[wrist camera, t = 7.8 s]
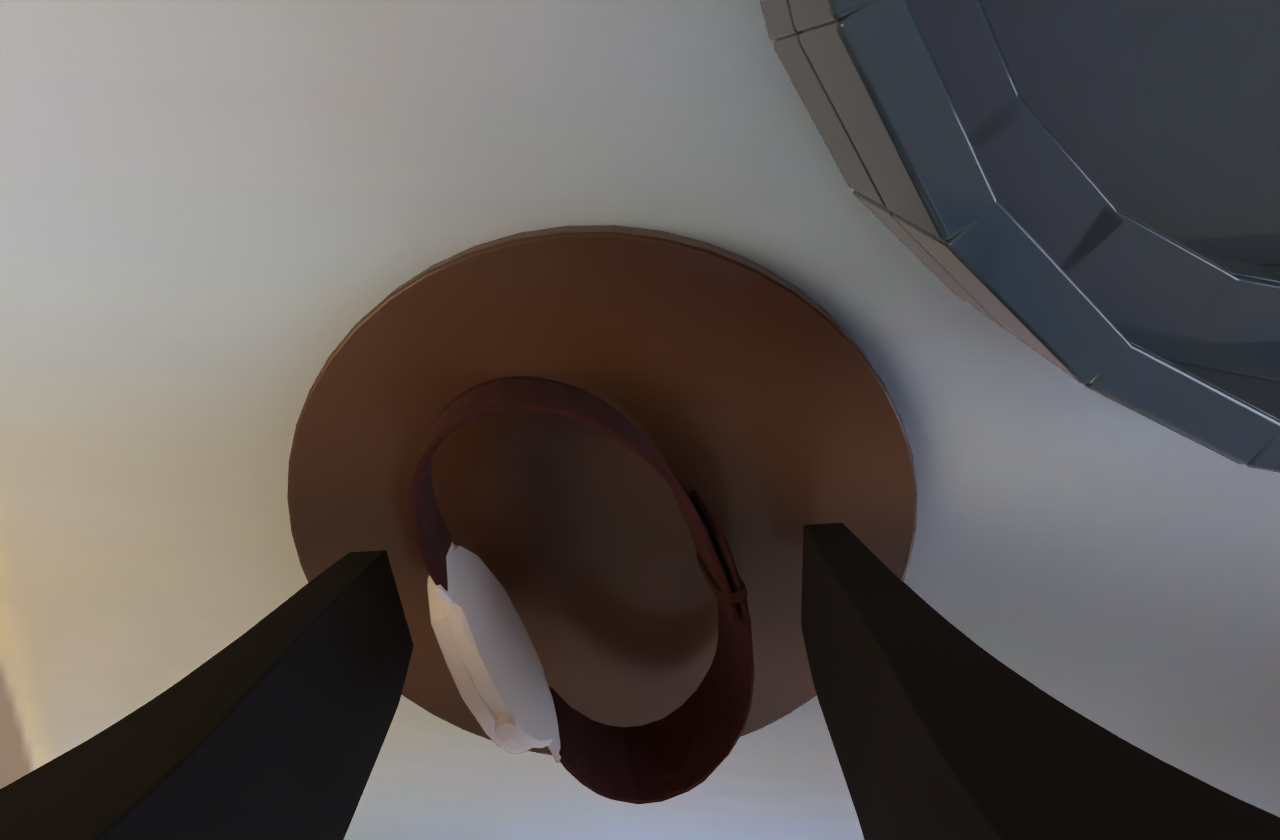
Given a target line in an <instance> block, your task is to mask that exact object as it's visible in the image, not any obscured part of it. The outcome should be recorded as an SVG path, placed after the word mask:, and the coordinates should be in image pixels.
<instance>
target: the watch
mask: <svg viewBox="0 0 1280 840" xmlns="http://www.w3.org/2000/svg"><path fill="white" fill-rule="evenodd" d="M514 412H537V413H543V414H549V415H555V416H561V417H565V418H567V419H570V420H573V421H576V422H579V423H582V424H585V425H588V426H591V427H594V428H596V429H598V430H600V431H602V432H603V433H605V434H607V435H609V436H611V437H613V438H615V439H617V440H618V441H620V442H621V443H623V444H624V445H625V446H627V447H628V448H630V449H631V450H632V451H634V452H635V453H637V454H638V455H639V456H641V457H642V458H644V459H645V460H646V461H647V462H648V463H649V464H650V465H651V467H652V468H653V469H654V470H655V471H656V472H657V473H658V474H659V475H660V476H661V478H662V479H663V480H664V481H665V482H666V483H667V484H668V486H669V487H670V489H671V491H672V493H673V495H674V497H675V499H676V501H677V504H678V506H679V508H680V510H681V512H682V514H683V517H684V519H685V521H686V523H687V525H688V527H689V529H690V532H691V535H692V538H693V541H694V544H695V547H696V550H697V561H698V566H699V568H700V569H701V571H702V573H703V574H704V576H705V579H706V581H707V583H708V585H709V586H710V588H711V590H712V591H713V593H714V595H715V597H716V598H717V604H718V642H717V648H716V653H715V656H714V658H713V661H712V664H711V667H710V668H709V670H708V672H707V673H706V675H705V677H704V678H703V680H702V682H701V684H700V685H699V687H698V689H697V690H696V691H695V692H694V693H693V694H692V695H691V696H690V697H689V698H688V699H687V700H686V701H685V702H684V703H683V705H682V706H680V707H679V708H677V709H676V710H675V711H673V712H672V713H670V714H669V715H667V716H666V717H664V718H663V719H660V720H657V721H654V722H651V723H648V724H645V725H642V726H632V727H618V726H611V725H606V724H603V723H600V722H597V721H593V720H591V719H590V718H588V717H586V716H585V715H583V714H582V713H580V712H578V711H577V710H575V709H573V708H572V707H570V706H569V705H568V704H567V703H566V702H565V701H564V700H563V699H562V698H561V697H560V695H559V694H558V693H557V692H556V691H555V690H554V689H553V688H552V687H551V686H549V685H548V683H547V681H546V677H545V673H544V670H543V666H542V664H541V662H540V659H539V657H538V655H537V653H536V650H535V648H534V646H533V644H532V641H531V639H530V637H529V635H528V632H527V630H526V628H525V626H524V624H523V622H522V621H521V619H520V617H519V615H518V613H517V611H516V609H515V608H514V606H513V604H512V602H511V600H510V598H509V597H508V595H507V593H506V591H505V589H504V587H503V586H502V585H501V584H500V582H499V581H498V580H497V579H496V577H495V576H494V575H493V574H492V572H491V571H490V570H489V569H488V568H487V566H486V565H485V564H484V563H483V561H482V560H481V559H480V558H479V557H478V556H477V555H476V554H474V553H472V552H470V551H469V550H467V549H465V548H463V547H462V546H457V545H454V544H453V542H452V538H451V536H450V534H449V531H448V529H447V527H446V525H445V523H444V521H443V519H442V516H441V514H440V511H439V508H438V505H437V502H436V498H435V494H434V489H433V483H432V477H431V468H432V459H433V454H434V452H435V451H436V450H437V449H438V448H439V447H440V445H441V444H442V443H443V442H444V441H445V440H446V438H447V437H448V436H449V435H450V434H452V433H454V432H455V431H457V430H459V429H460V428H462V427H464V426H465V425H467V424H469V423H470V422H472V421H474V420H476V419H480V418H484V417H488V416H491V415H495V414H499V413H514ZM690 496H691V500H690V499H689V497H688V496H687V494H686V493H685V491H684V490H683V488H682V487H681V485H680V484H679V482H678V481H677V479H676V478H675V476H674V475H673V473H672V472H671V470H670V469H669V467H668V466H667V464H666V463H665V461H664V459H663V458H662V456H661V455H660V454H659V452H658V451H657V450H656V449H655V447H654V446H653V445H652V443H651V442H650V441H649V440H648V438H647V437H646V436H645V434H644V433H643V432H642V431H640V430H639V429H638V428H637V427H636V426H635V425H634V424H633V423H632V422H631V421H630V420H628V419H627V418H626V417H625V416H624V415H623V414H622V413H620V412H619V411H617V410H616V409H615V408H613V407H612V406H611V405H609V404H608V403H606V402H605V401H604V400H602V399H601V398H599V397H597V396H595V395H593V394H591V393H589V392H587V391H585V390H583V389H581V388H579V387H575V386H572V385H568V384H565V383H562V382H558V381H555V380H551V379H545V378H540V377H534V376H511V377H500V378H495V379H492V380H489V381H486V382H483V383H479V384H476V385H474V386H473V387H471V388H469V389H467V390H466V391H464V392H462V393H461V394H460V395H458V396H457V397H456V398H454V399H453V400H452V401H451V402H450V403H448V404H447V405H446V406H445V408H444V409H443V410H442V412H441V413H440V415H439V416H438V418H437V419H436V421H435V422H434V423H433V425H432V428H431V430H430V432H429V434H428V437H427V439H426V441H425V443H424V446H423V448H422V451H421V454H420V457H419V460H418V463H417V466H416V469H415V472H414V474H413V478H412V483H411V489H410V498H409V512H410V521H411V531H412V537H413V540H414V542H415V545H416V547H417V550H418V553H419V555H420V558H421V561H422V563H423V566H424V568H425V569H426V571H427V572H428V574H429V577H428V583H427V590H428V599H429V609H430V619H431V625H432V627H433V630H434V633H435V635H436V638H437V641H438V643H439V646H440V648H441V651H442V654H443V656H444V659H445V662H446V664H447V667H448V669H449V671H450V673H451V675H452V677H453V679H454V682H455V684H456V686H457V688H458V690H459V692H460V695H461V697H462V699H463V700H464V702H465V703H466V705H467V706H468V708H469V709H470V711H471V712H472V714H473V715H474V717H475V718H476V720H477V721H478V723H479V724H480V726H481V727H482V729H483V730H484V732H485V733H486V734H487V735H488V736H489V737H490V738H491V739H492V740H493V742H494V743H495V744H496V745H497V746H499V747H501V748H503V749H505V750H507V751H509V752H511V753H513V754H518V753H522V752H526V751H528V750H530V749H531V748H544V747H546V746H548V748H549V749H550V751H551V753H552V755H553V757H554V758H555V760H556V762H561V763H562V765H563V766H564V767H565V768H566V770H568V771H569V772H570V773H571V774H572V775H573V776H574V777H575V778H576V779H577V780H578V781H579V782H580V783H582V784H583V785H584V786H586V787H587V788H589V789H591V790H592V791H594V792H595V793H597V794H599V795H601V796H604V797H606V798H609V799H613V800H617V801H623V802H629V803H634V804H644V803H653V802H661V801H664V800H667V799H670V798H673V797H675V796H678V795H680V794H683V793H685V792H688V791H689V790H691V789H693V788H694V787H696V786H697V785H699V784H700V783H702V782H704V781H705V780H706V779H707V777H708V776H709V775H710V774H711V773H712V772H713V771H714V770H715V769H716V768H717V767H718V766H719V765H720V763H721V762H722V761H723V760H724V759H725V758H726V757H727V756H728V755H729V753H730V752H731V750H732V749H733V747H734V745H735V744H736V742H737V740H738V739H739V737H740V736H741V734H742V732H743V731H744V728H745V725H746V722H747V719H748V716H749V712H750V709H751V705H752V696H753V685H754V674H755V671H754V657H753V644H752V630H751V619H750V614H749V609H748V605H747V600H746V598H747V595H748V594H747V591H746V587H745V584H744V583H743V581H742V580H741V578H740V576H739V574H738V571H737V568H736V565H735V562H734V559H733V556H732V553H731V551H730V548H729V545H728V542H727V540H726V538H725V537H724V535H723V533H722V531H721V529H720V527H719V525H718V523H717V521H716V520H715V518H714V517H713V515H712V514H711V513H710V511H709V510H708V508H707V507H706V506H705V504H704V503H703V501H702V500H701V498H700V497H699V496H698V494H697V493H696V491H695V490H694V491H692V492H691V493H690Z"/></svg>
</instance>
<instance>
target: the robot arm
mask: <svg viewBox="0 0 1280 840" xmlns="http://www.w3.org/2000/svg"><path fill="white" fill-rule="evenodd" d="M801 627H802V632H803V637H804V642H805V647H806V652H807V657H808V662H809V666H810V671H811V675H812V680H813V684H814V687H815V690H816V693H817V697H818V700H819V703H820V706H821V709H822V712H823V715H824V718H825V721H826V724H827V727H828V730H829V733H830V736H831V739H832V742H833V745H834V748H835V750H836V753H837V756H838V759H839V762H840V765H841V768H842V771H843V774H844V777H845V780H846V783H847V786H848V789H849V792H850V795H851V798H852V801H853V804H854V807H855V810H856V813H857V816H858V819H859V822H860V826H861V829H862V832H863V836H864V839H865V840H1280V817H1277V816H1275V815H1273V814H1271V813H1268V812H1266V811H1264V810H1262V809H1259V808H1257V807H1255V806H1253V805H1251V804H1248V803H1246V802H1244V801H1242V800H1239V799H1237V798H1235V797H1233V796H1231V795H1229V794H1227V793H1225V792H1223V791H1221V790H1219V789H1217V788H1215V787H1213V786H1211V785H1209V784H1207V783H1205V782H1203V781H1201V780H1199V779H1197V778H1195V777H1193V776H1191V775H1189V774H1187V773H1185V772H1183V771H1181V770H1179V769H1177V768H1175V767H1173V766H1171V765H1169V764H1167V763H1165V762H1163V761H1162V760H1160V759H1158V758H1156V757H1154V756H1152V755H1151V754H1149V753H1147V752H1145V751H1143V750H1141V749H1139V748H1138V747H1136V746H1134V745H1132V744H1130V743H1128V742H1127V741H1125V740H1123V739H1121V738H1119V737H1118V736H1116V735H1114V734H1113V733H1111V732H1109V731H1108V730H1106V729H1104V728H1103V727H1101V726H1099V725H1097V724H1096V723H1094V722H1092V721H1091V720H1089V719H1087V718H1086V717H1084V716H1082V715H1081V714H1079V713H1077V712H1075V711H1074V710H1072V709H1070V708H1069V707H1067V706H1066V705H1064V704H1062V703H1061V702H1059V701H1058V700H1056V699H1055V698H1053V697H1051V696H1050V695H1048V694H1047V693H1045V692H1044V691H1042V690H1041V689H1039V688H1038V687H1036V686H1035V685H1033V684H1032V683H1030V682H1029V681H1027V680H1026V679H1025V678H1023V677H1022V676H1020V675H1019V674H1017V673H1016V672H1014V671H1013V670H1011V669H1010V668H1008V667H1007V666H1006V665H1004V664H1003V663H1001V662H1000V661H998V660H997V659H996V658H994V657H993V656H992V655H990V654H989V653H988V652H986V651H985V650H983V649H982V648H981V647H980V646H978V645H977V644H976V643H974V642H973V641H972V640H971V639H969V638H968V637H967V636H966V635H964V634H963V633H962V632H961V631H959V630H958V629H957V628H956V627H954V626H953V625H952V624H951V623H949V622H948V621H947V620H946V619H945V618H943V617H942V616H941V615H940V614H939V613H938V612H936V611H935V610H934V609H933V608H932V607H931V606H930V605H928V604H927V603H926V602H925V601H924V600H923V599H922V598H921V597H920V596H918V595H917V594H916V593H915V592H914V591H913V590H912V589H911V588H910V587H908V586H907V585H906V584H905V583H904V582H903V581H902V580H901V579H900V578H899V577H898V576H897V575H896V574H894V573H893V572H892V571H891V570H890V569H889V568H888V567H887V566H886V565H885V564H884V563H883V562H882V561H881V560H880V559H879V558H878V557H877V556H876V555H875V554H874V553H873V552H872V551H871V550H870V549H869V548H868V547H867V546H866V545H865V544H864V543H863V542H862V541H861V540H860V539H859V538H858V537H857V536H856V535H855V534H854V533H853V532H852V531H851V530H850V529H849V528H848V527H846V526H845V525H844V524H843V523H826V524H810V525H803V561H802V604H801ZM413 646H414V645H413V641H412V638H411V634H410V631H409V627H408V624H407V621H406V617H405V614H404V610H403V607H402V603H401V600H400V596H399V593H398V590H397V586H396V583H395V579H394V576H393V572H392V569H391V565H390V562H389V559H388V555H387V552H386V550H378V551H362V552H349V553H348V554H347V555H345V556H344V557H342V558H341V559H339V560H338V561H336V562H335V563H334V564H332V565H331V566H330V567H328V568H327V569H326V570H324V571H323V572H322V573H321V574H319V575H318V576H317V577H315V578H314V579H313V580H312V581H310V582H309V583H308V584H307V585H305V586H304V587H303V588H302V589H300V590H299V591H298V592H297V593H295V594H294V595H293V596H292V597H290V598H289V599H288V600H287V601H285V602H284V603H283V604H281V605H280V606H279V607H278V608H276V609H275V610H274V611H273V612H271V613H270V614H269V615H267V616H266V617H265V618H264V619H262V620H261V621H260V622H259V623H257V624H256V625H255V626H253V627H252V628H251V629H250V630H248V631H247V632H246V633H245V634H243V635H242V636H241V637H239V638H238V639H237V640H235V641H234V642H232V643H231V644H230V645H228V646H227V647H226V648H224V649H223V650H222V651H220V652H219V653H217V654H216V655H215V656H213V657H212V658H211V659H209V660H208V661H207V662H205V663H204V664H202V665H201V666H200V667H198V668H197V669H196V670H194V671H193V672H191V673H190V674H189V675H187V676H186V677H185V678H183V679H182V680H181V681H179V682H178V683H176V684H175V685H173V686H172V687H170V688H169V689H167V690H166V691H165V692H163V693H162V694H160V695H159V696H157V697H156V698H154V699H153V700H151V701H150V702H148V703H147V704H145V705H144V706H142V707H140V708H139V709H137V710H136V711H134V712H132V713H131V714H129V715H128V716H126V717H125V718H123V719H121V720H120V721H118V722H117V723H115V724H113V725H112V726H110V727H109V728H107V729H106V730H104V731H102V732H101V733H99V734H97V735H96V736H94V737H92V738H91V739H89V740H87V741H86V742H84V743H82V744H80V745H78V746H77V747H75V748H73V749H71V750H70V751H68V752H66V753H64V754H63V755H61V756H59V757H57V758H55V759H54V760H52V761H50V762H48V763H47V764H45V765H43V766H41V767H39V768H38V769H36V770H34V771H32V772H31V773H29V774H27V775H25V776H23V777H22V778H20V779H18V780H16V781H15V782H13V783H11V784H9V785H7V786H6V787H4V788H2V789H0V840H343V839H344V837H345V834H346V832H347V829H348V827H349V825H350V822H351V820H352V817H353V815H354V812H355V810H356V808H357V805H358V803H359V800H360V798H361V795H362V793H363V791H364V788H365V786H366V783H367V781H368V779H369V776H370V774H371V771H372V769H373V766H374V764H375V762H376V759H377V757H378V754H379V752H380V749H381V747H382V744H383V742H384V739H385V737H386V734H387V732H388V730H389V727H390V725H391V722H392V720H393V717H394V714H395V712H396V709H397V707H398V704H399V701H400V697H401V693H402V690H403V686H404V683H405V679H406V675H407V671H408V667H409V663H410V659H411V655H412V651H413Z"/></svg>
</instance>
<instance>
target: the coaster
mask: <svg viewBox="0 0 1280 840" xmlns="http://www.w3.org/2000/svg"><path fill="white" fill-rule="evenodd" d="M511 376H534V377H540V378H545V379H551V380H555V381H558V382H562V383H565V384H568V385H572V386H575V387H579V388H581V389H583V390H585V391H587V392H589V393H591V394H593V395H595V396H597V397H599V398H601V399H602V400H604V401H605V402H606V403H608V404H609V405H611V406H612V407H613V408H615V409H616V410H617V411H619V412H620V413H622V414H623V415H624V416H625V417H626V418H627V419H628V420H630V421H631V422H632V423H633V424H634V425H635V426H636V427H637V428H638V429H639V430H640V431H642V432H643V433H644V434H645V436H646V437H647V438H648V440H649V441H650V442H651V443H652V445H653V446H654V447H655V449H656V450H657V451H658V452H659V454H660V455H661V456H662V458H663V459H664V461H665V463H666V464H667V466H668V467H669V469H670V470H671V472H672V473H673V475H674V476H675V478H676V479H677V481H678V482H679V484H680V485H681V487H682V488H683V490H684V491H685V493H686V494H687V496H688V497H689V499H690V500H691V496H690V493H691V492H692V491H694V490H695V491H696V493H697V494H698V496H699V497H700V498H701V500H702V501H703V503H704V504H705V506H706V507H707V508H708V510H709V511H710V513H711V514H712V515H713V517H714V518H715V520H716V521H717V523H718V525H719V527H720V529H721V531H722V533H723V535H724V537H725V538H726V540H727V542H728V545H729V548H730V551H731V553H732V556H733V559H734V562H735V565H736V568H737V571H738V574H739V576H740V578H741V580H742V581H743V583H744V584H745V587H746V591H747V594H748V595H747V598H746V600H747V605H748V609H749V614H750V619H751V630H752V644H753V657H754V671H755V674H754V685H753V696H752V705H751V709H750V712H749V716H748V719H747V722H746V725H745V728H744V731H743V732H742V734H741V736H743V735H746V734H748V733H751V732H753V731H756V730H758V729H761V728H762V727H764V726H766V725H768V724H770V723H772V722H774V721H776V720H778V719H780V718H782V717H784V716H786V715H787V714H789V713H791V712H792V711H794V710H795V709H797V708H798V707H800V706H801V705H803V704H804V703H806V702H807V701H809V700H810V699H812V698H813V697H815V696H816V695H817V693H816V690H815V687H814V684H813V680H812V675H811V671H810V666H809V662H808V657H807V652H806V647H805V642H804V637H803V632H802V627H801V604H802V561H803V525H810V524H826V523H843V524H844V525H845V526H846V527H848V528H849V529H850V530H851V531H852V532H853V533H854V534H855V535H856V536H857V537H858V538H859V539H860V540H861V541H862V542H863V543H864V544H865V545H866V546H867V547H868V548H869V549H870V550H871V551H872V552H873V553H874V554H875V555H876V556H877V557H878V558H879V559H880V560H881V561H882V562H883V563H884V564H885V565H886V566H887V567H888V568H889V569H890V570H891V571H892V572H893V573H894V574H896V575H897V576H898V577H899V578H900V579H901V580H902V581H903V579H904V577H905V574H906V571H907V568H908V565H909V562H910V557H911V552H912V547H913V541H914V536H915V530H916V513H917V487H916V480H915V472H914V465H913V457H912V453H911V450H910V446H909V443H908V440H907V436H906V433H905V430H904V427H903V423H902V420H901V418H900V416H899V414H898V412H897V410H896V408H895V405H894V403H893V401H892V399H891V397H890V395H889V393H888V391H887V389H886V387H885V385H884V383H883V382H882V380H881V379H880V378H879V376H878V375H877V373H876V372H875V370H874V369H873V368H872V366H871V365H870V363H869V362H868V360H867V359H866V357H865V356H864V355H863V353H862V352H861V350H860V349H859V348H858V346H857V345H856V344H855V343H854V341H853V340H852V339H851V338H850V337H849V336H848V335H847V334H846V333H845V332H844V331H843V330H842V329H841V327H840V326H839V325H838V324H837V323H836V322H835V321H834V320H833V319H832V318H831V317H830V316H829V315H828V314H827V313H826V312H825V311H824V310H823V309H822V308H821V307H819V306H818V305H817V304H816V303H814V302H813V301H812V300H810V299H809V298H808V297H807V296H805V295H804V294H803V293H802V292H800V291H799V290H798V289H796V288H795V287H794V286H793V285H791V284H790V283H788V282H787V281H785V280H783V279H781V278H780V277H778V276H776V275H775V274H773V273H771V272H769V271H768V270H766V269H764V268H763V267H761V266H759V265H757V264H756V263H754V262H752V261H750V260H748V259H745V258H743V257H740V256H738V255H736V254H733V253H731V252H728V251H726V250H723V249H721V248H718V247H716V246H714V245H711V244H709V243H705V242H701V241H698V240H694V239H690V238H686V237H682V236H678V235H674V234H670V233H667V232H663V231H656V230H647V229H639V228H631V227H622V226H614V225H613V226H564V227H557V228H550V229H544V230H537V231H530V232H523V233H518V234H514V235H511V236H508V237H504V238H501V239H497V240H494V241H491V242H487V243H484V244H480V245H477V246H474V247H472V248H470V249H467V250H465V251H463V252H461V253H459V254H456V255H454V256H452V257H450V258H448V259H445V260H443V261H441V262H439V263H437V264H434V265H433V266H431V267H429V268H428V269H426V270H425V271H423V272H422V273H420V274H419V275H417V276H415V277H414V278H412V279H411V280H409V281H408V282H406V283H405V284H403V285H401V286H400V287H398V288H397V289H396V290H395V291H393V292H392V293H391V294H390V295H389V296H387V297H386V298H385V299H384V300H383V301H382V302H381V303H379V304H378V305H377V306H376V307H375V308H374V309H373V310H371V311H370V312H369V313H368V314H367V315H366V316H365V317H364V318H362V319H361V320H360V321H359V322H358V323H357V324H356V325H355V326H354V327H353V328H352V329H351V331H350V332H349V333H348V334H347V335H346V337H345V338H344V339H343V340H342V342H341V343H340V344H339V345H338V346H337V348H336V349H335V350H334V351H333V352H332V354H331V355H330V356H329V358H328V359H327V361H326V363H325V365H324V366H323V368H322V370H321V371H320V373H319V375H318V377H317V378H316V380H315V382H314V383H313V385H312V387H311V388H310V390H309V393H308V396H307V398H306V401H305V403H304V406H303V409H302V411H301V414H300V416H299V419H298V422H297V424H296V429H295V434H294V438H293V443H292V448H291V453H290V458H289V472H288V506H289V514H290V522H291V531H292V535H293V539H294V542H295V546H296V550H297V553H298V557H299V560H300V564H301V567H302V569H303V571H304V573H305V576H306V578H307V580H308V583H309V582H310V581H312V580H313V579H314V578H315V577H317V576H318V575H319V574H321V573H322V572H323V571H324V570H326V569H327V568H328V567H330V566H331V565H332V564H334V563H335V562H336V561H338V560H339V559H341V558H342V557H344V556H345V555H347V554H348V553H349V552H362V551H378V550H386V552H387V555H388V559H389V562H390V565H391V569H392V572H393V576H394V579H395V583H396V586H397V590H398V593H399V596H400V600H401V603H402V607H403V610H404V614H405V617H406V621H407V624H408V627H409V631H410V634H411V638H412V641H413V645H414V646H413V651H412V655H411V659H410V663H409V667H408V671H407V675H406V679H405V683H404V686H403V690H402V693H401V694H402V695H403V696H404V697H406V698H408V699H409V700H411V701H412V702H414V703H416V704H417V705H419V706H420V707H422V708H424V709H425V710H427V711H428V712H430V713H431V714H433V715H435V716H437V717H439V718H441V719H443V720H445V721H447V722H449V723H451V724H453V725H455V726H457V727H459V728H461V729H463V730H466V731H469V732H471V733H474V734H476V735H479V736H482V737H484V738H487V739H490V740H492V739H491V738H490V737H489V736H488V735H487V734H486V733H485V732H484V730H483V729H482V727H481V726H480V724H479V723H478V721H477V720H476V718H475V717H474V715H473V714H472V712H471V711H470V709H469V708H468V706H467V705H466V703H465V702H464V700H463V699H462V697H461V695H460V692H459V690H458V688H457V686H456V684H455V682H454V679H453V677H452V675H451V673H450V671H449V669H448V667H447V664H446V662H445V659H444V656H443V654H442V651H441V648H440V646H439V643H438V641H437V638H436V635H435V633H434V630H433V627H432V625H431V619H430V609H429V599H428V590H427V583H428V577H429V574H428V572H427V571H426V569H425V568H424V566H423V563H422V561H421V558H420V555H419V553H418V550H417V547H416V545H415V542H414V540H413V537H412V531H411V521H410V512H409V498H410V489H411V483H412V478H413V474H414V472H415V469H416V466H417V463H418V460H419V457H420V454H421V451H422V448H423V446H424V443H425V441H426V439H427V437H428V434H429V432H430V430H431V428H432V425H433V423H434V422H435V421H436V419H437V418H438V416H439V415H440V413H441V412H442V410H443V409H444V408H445V406H446V405H447V404H448V403H450V402H451V401H452V400H453V399H454V398H456V397H457V396H458V395H460V394H461V393H462V392H464V391H466V390H467V389H469V388H471V387H473V386H474V385H476V384H479V383H483V382H486V381H489V380H492V379H495V378H500V377H511ZM431 477H432V483H433V489H434V494H435V498H436V502H437V505H438V508H439V511H440V514H441V516H442V519H443V521H444V523H445V525H446V527H447V529H448V531H449V534H450V536H451V538H452V542H453V544H454V545H457V546H462V547H463V548H465V549H467V550H469V551H470V552H472V553H474V554H476V555H477V556H478V557H479V558H480V559H481V560H482V561H483V563H484V564H485V565H486V566H487V568H488V569H489V570H490V571H491V572H492V574H493V575H494V576H495V577H496V579H497V580H498V581H499V582H500V584H501V585H502V586H503V587H504V589H505V591H506V593H507V595H508V597H509V598H510V600H511V602H512V604H513V606H514V608H515V609H516V611H517V613H518V615H519V617H520V619H521V621H522V622H523V624H524V626H525V628H526V630H527V632H528V635H529V637H530V639H531V641H532V644H533V646H534V648H535V650H536V653H537V655H538V657H539V659H540V662H541V664H542V666H543V670H544V673H545V677H546V681H547V683H548V685H549V686H551V687H552V688H553V689H554V690H555V691H556V692H557V693H558V694H559V695H560V697H561V698H562V699H563V700H564V701H565V702H566V703H567V704H568V705H569V706H570V707H572V708H573V709H575V710H577V711H578V712H580V713H582V714H583V715H585V716H586V717H588V718H590V719H591V720H593V721H597V722H600V723H603V724H606V725H611V726H618V727H632V726H642V725H645V724H648V723H651V722H654V721H657V720H660V719H663V718H664V717H666V716H667V715H669V714H670V713H672V712H673V711H675V710H676V709H677V708H679V707H680V706H682V705H683V703H684V702H685V701H686V700H687V699H688V698H689V697H690V696H691V695H692V694H693V693H694V692H695V691H696V690H697V689H698V687H699V685H700V684H701V682H702V680H703V678H704V677H705V675H706V673H707V672H708V670H709V668H710V667H711V664H712V661H713V658H714V656H715V653H716V648H717V642H718V604H717V598H716V597H715V595H714V593H713V591H712V590H711V588H710V586H709V585H708V583H707V581H706V579H705V576H704V574H703V573H702V571H701V569H700V568H699V566H698V561H697V550H696V547H695V544H694V541H693V538H692V535H691V532H690V529H689V527H688V525H687V523H686V521H685V519H684V517H683V514H682V512H681V510H680V508H679V506H678V504H677V501H676V499H675V497H674V495H673V493H672V491H671V489H670V487H669V486H668V484H667V483H666V482H665V481H664V480H663V479H662V478H661V476H660V475H659V474H658V473H657V472H656V471H655V470H654V469H653V468H652V467H651V465H650V464H649V463H648V462H647V461H646V460H645V459H644V458H642V457H641V456H639V455H638V454H637V453H635V452H634V451H632V450H631V449H630V448H628V447H627V446H625V445H624V444H623V443H621V442H620V441H618V440H617V439H615V438H613V437H611V436H609V435H607V434H605V433H603V432H602V431H600V430H598V429H596V428H594V427H591V426H588V425H585V424H582V423H579V422H576V421H573V420H570V419H567V418H565V417H561V416H555V415H549V414H543V413H537V412H514V413H499V414H495V415H491V416H488V417H484V418H480V419H476V420H474V421H472V422H470V423H469V424H467V425H465V426H464V427H462V428H460V429H459V430H457V431H455V432H454V433H452V434H450V435H449V436H448V437H447V438H446V440H445V441H444V442H443V443H442V444H441V445H440V447H439V448H438V449H437V450H436V451H435V452H434V454H433V459H432V468H431ZM741 736H740V737H741ZM492 741H493V740H492ZM528 751H532V752H537V753H543V754H548V755H552V753H551V751H550V749H549V748H548V746H546V747H544V748H531V749H530V750H528Z"/></svg>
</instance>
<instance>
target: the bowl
mask: <svg viewBox="0 0 1280 840" xmlns="http://www.w3.org/2000/svg"><path fill="white" fill-rule="evenodd" d="M760 3H761V7H762V11H763V15H764V19H765V23H766V27H767V32H768V36H769V38H770V39H771V40H775V41H774V49H775V51H776V53H777V55H778V57H779V59H780V60H781V62H782V64H783V66H784V68H785V70H786V71H787V73H788V75H789V77H790V79H791V81H792V83H793V84H794V86H795V88H796V90H797V92H798V94H799V96H800V97H801V99H802V101H803V103H804V105H805V107H806V109H807V110H808V112H809V114H810V116H811V118H812V120H813V122H814V123H815V125H816V127H817V129H818V131H819V133H820V134H821V136H822V138H823V140H824V142H825V144H826V146H827V147H828V149H829V151H830V153H831V155H832V157H833V159H834V160H835V162H836V164H837V166H838V168H839V170H840V172H841V173H842V175H843V177H844V179H845V181H846V183H847V184H848V186H849V187H850V188H851V189H853V190H854V191H853V193H854V195H855V196H856V197H857V198H858V199H859V200H860V201H861V202H862V203H863V204H864V205H865V206H866V207H867V208H868V209H869V210H870V211H871V212H872V213H873V214H874V215H875V216H876V217H877V218H878V219H879V220H880V221H881V222H882V223H883V224H884V225H885V226H886V227H887V228H888V229H889V230H890V231H891V232H892V233H893V234H894V235H895V236H896V237H897V238H898V239H899V240H900V241H901V242H902V243H903V244H904V245H905V246H906V247H907V248H908V249H909V250H910V251H911V252H912V253H913V254H914V255H915V256H916V257H917V258H918V259H919V260H920V261H921V262H922V263H923V264H924V265H925V266H926V267H927V268H928V269H929V270H930V271H931V272H932V273H933V274H934V275H935V276H936V277H937V278H938V279H939V280H940V281H941V282H942V283H943V284H944V285H945V286H946V287H947V288H948V289H949V290H950V291H951V292H953V293H954V294H956V295H957V296H958V297H960V298H961V299H963V300H964V301H965V302H967V303H968V304H970V305H971V306H972V307H974V308H975V309H977V310H978V311H979V312H981V313H982V314H984V315H985V316H986V317H988V318H989V319H991V320H992V321H994V322H995V323H996V324H998V325H999V326H1001V327H1002V328H1003V329H1005V330H1006V331H1007V332H1009V333H1010V334H1012V335H1013V336H1015V337H1016V338H1017V339H1019V340H1020V341H1022V342H1023V343H1024V344H1026V345H1027V346H1029V347H1030V348H1031V349H1033V350H1034V351H1036V352H1037V353H1039V354H1040V355H1041V356H1043V357H1044V358H1046V359H1047V360H1048V361H1050V362H1051V363H1053V364H1054V365H1055V366H1057V367H1058V368H1060V369H1061V370H1062V371H1064V372H1065V373H1067V374H1068V375H1070V376H1071V377H1072V378H1074V379H1075V380H1077V381H1078V382H1079V383H1081V384H1083V385H1084V386H1085V387H1087V388H1089V389H1091V390H1093V391H1095V392H1097V393H1099V394H1101V395H1103V396H1105V397H1107V398H1109V399H1111V400H1113V401H1115V402H1117V403H1119V404H1121V405H1123V406H1125V407H1127V408H1129V409H1131V410H1133V411H1135V412H1136V413H1138V414H1140V415H1142V416H1144V417H1146V418H1148V419H1150V420H1152V421H1154V422H1156V423H1158V424H1160V425H1162V426H1164V427H1166V428H1168V429H1170V430H1172V431H1174V432H1176V433H1178V434H1180V435H1182V436H1184V437H1186V438H1188V439H1190V440H1192V441H1194V442H1196V443H1198V444H1200V445H1202V446H1204V447H1206V448H1208V449H1210V450H1212V451H1214V452H1216V453H1218V454H1220V455H1222V456H1224V457H1226V458H1228V459H1230V460H1232V461H1234V462H1236V463H1238V464H1245V465H1247V466H1248V467H1252V468H1257V469H1263V470H1269V471H1274V472H1280V0H760Z"/></svg>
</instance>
